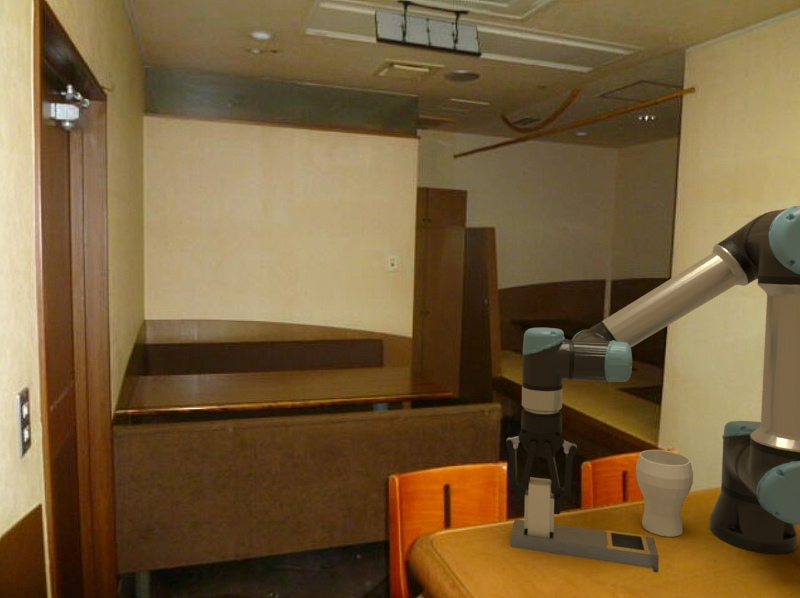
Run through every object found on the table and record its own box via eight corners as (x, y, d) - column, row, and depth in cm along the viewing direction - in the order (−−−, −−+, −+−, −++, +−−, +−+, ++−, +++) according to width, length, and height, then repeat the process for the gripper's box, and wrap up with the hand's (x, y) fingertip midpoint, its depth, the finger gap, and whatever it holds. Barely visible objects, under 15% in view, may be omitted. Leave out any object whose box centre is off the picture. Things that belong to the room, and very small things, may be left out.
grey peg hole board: (653, 552, 110) (653, 536, 110) (658, 571, 103) (658, 554, 103) (514, 533, 118) (514, 517, 117) (510, 549, 111) (511, 533, 111)
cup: (697, 543, 114) (700, 468, 113) (640, 537, 116) (642, 464, 115) (682, 519, 124) (685, 450, 123) (630, 514, 126) (632, 447, 125)
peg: (549, 538, 114) (551, 479, 113) (548, 548, 110) (550, 487, 109) (529, 535, 115) (530, 477, 114) (527, 545, 111) (528, 484, 111)
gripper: (588, 407, 112) (584, 524, 114) (499, 400, 117) (497, 513, 119) (588, 417, 105) (585, 542, 107) (494, 410, 110) (492, 529, 111)
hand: (539, 527), depth 113 cm, fingers closed on peg, 4 cm apart
